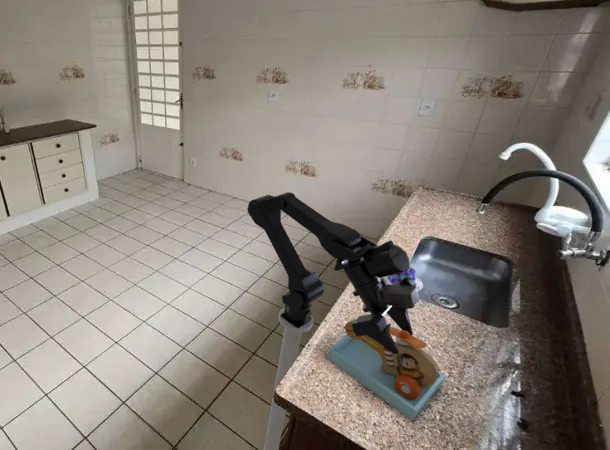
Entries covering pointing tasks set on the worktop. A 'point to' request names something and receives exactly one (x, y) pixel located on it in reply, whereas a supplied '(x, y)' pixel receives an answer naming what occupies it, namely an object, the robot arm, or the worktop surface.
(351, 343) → the teal tray
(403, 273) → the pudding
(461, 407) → the worktop surface
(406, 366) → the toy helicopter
